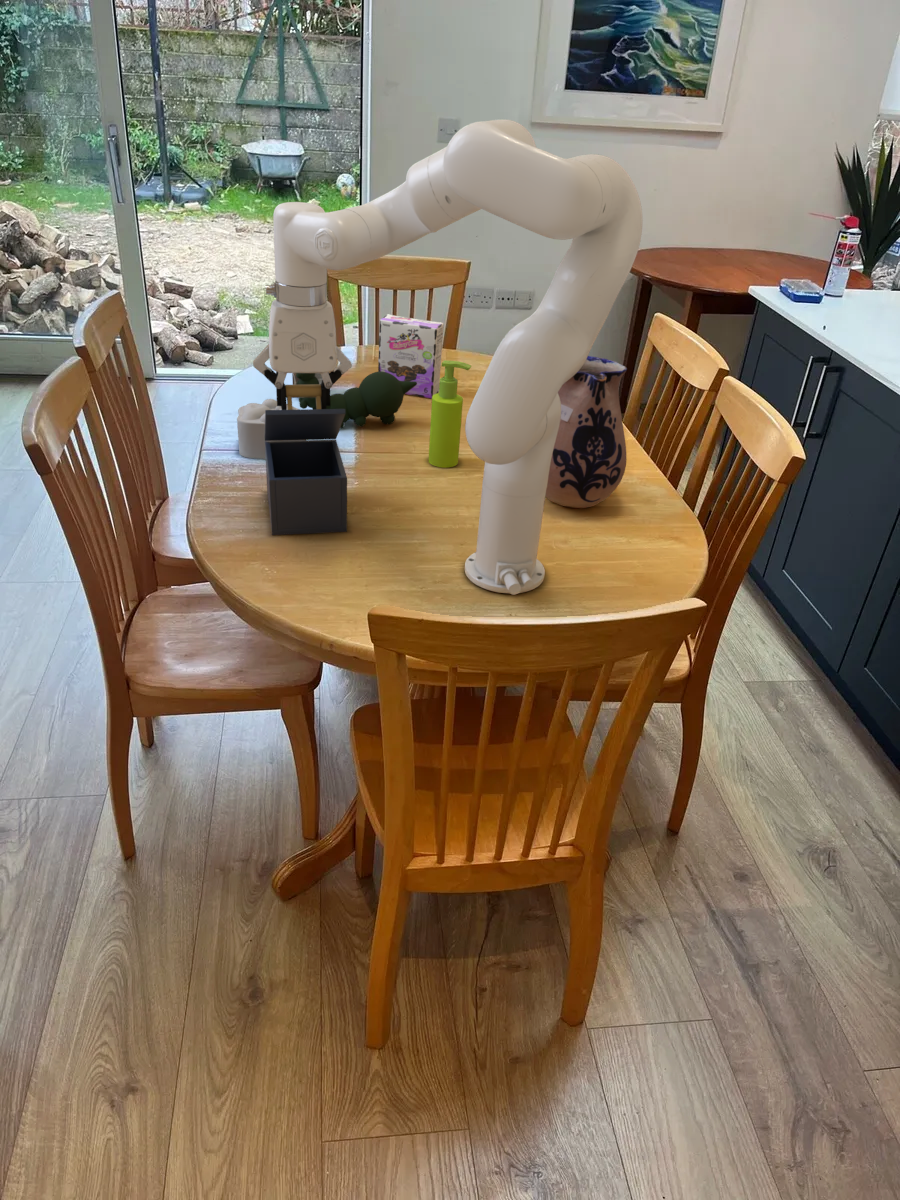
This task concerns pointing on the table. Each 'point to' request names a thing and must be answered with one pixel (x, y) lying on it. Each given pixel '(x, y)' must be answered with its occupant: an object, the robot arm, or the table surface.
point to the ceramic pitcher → (588, 437)
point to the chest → (306, 487)
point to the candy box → (412, 352)
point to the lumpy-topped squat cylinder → (254, 428)
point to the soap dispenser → (446, 419)
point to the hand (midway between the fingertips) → (303, 409)
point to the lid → (303, 418)
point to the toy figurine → (364, 397)
